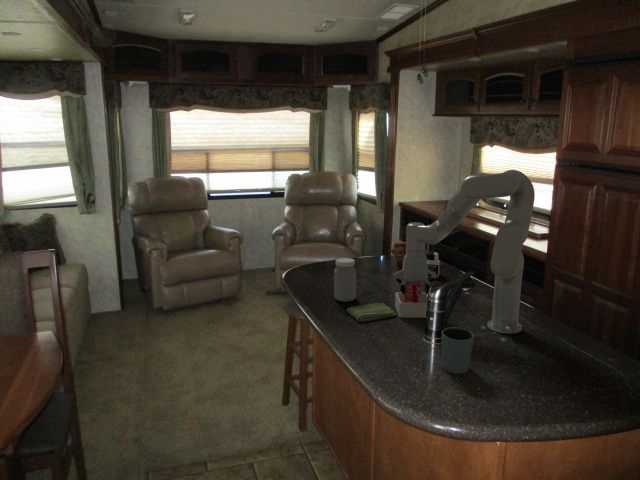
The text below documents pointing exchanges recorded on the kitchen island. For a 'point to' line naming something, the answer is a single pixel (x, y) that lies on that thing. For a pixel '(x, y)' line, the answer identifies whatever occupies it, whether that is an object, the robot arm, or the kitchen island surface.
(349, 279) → the jar
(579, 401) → the kitchen island surface
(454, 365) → the grey teal cup
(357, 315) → the washcloth
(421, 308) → the tote
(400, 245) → the decorative planter
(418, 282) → the soda can
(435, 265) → the medicine bottle
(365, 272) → the kitchen island surface
